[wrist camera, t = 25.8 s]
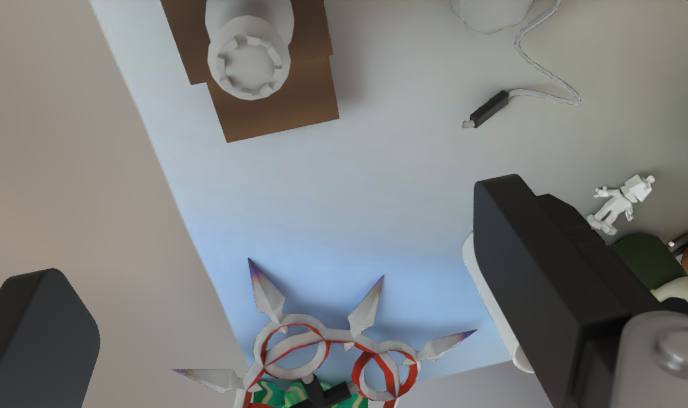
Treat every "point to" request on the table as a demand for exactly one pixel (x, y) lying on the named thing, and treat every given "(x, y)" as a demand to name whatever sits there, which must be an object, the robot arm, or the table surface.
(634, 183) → the figurine
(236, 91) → the rook chess piece
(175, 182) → the table surface
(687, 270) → the fruit
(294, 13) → the step rack
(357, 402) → the candy
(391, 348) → the decorative object
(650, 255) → the character mug
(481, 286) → the mug
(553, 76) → the clip-on lamp
